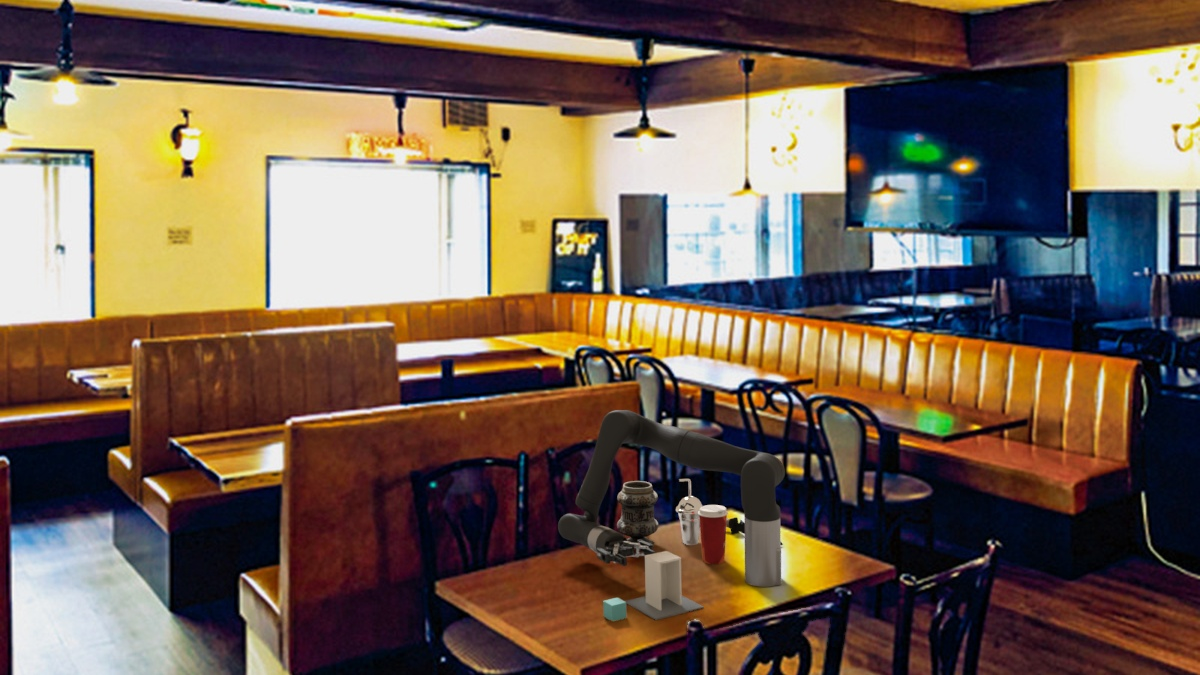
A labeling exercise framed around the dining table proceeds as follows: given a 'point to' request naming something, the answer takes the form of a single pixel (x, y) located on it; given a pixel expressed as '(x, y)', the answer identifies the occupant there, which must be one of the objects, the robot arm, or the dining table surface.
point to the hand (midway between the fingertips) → (640, 559)
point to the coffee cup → (713, 533)
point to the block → (614, 609)
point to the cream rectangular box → (662, 578)
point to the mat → (663, 607)
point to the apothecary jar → (637, 511)
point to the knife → (737, 526)
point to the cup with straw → (689, 517)
